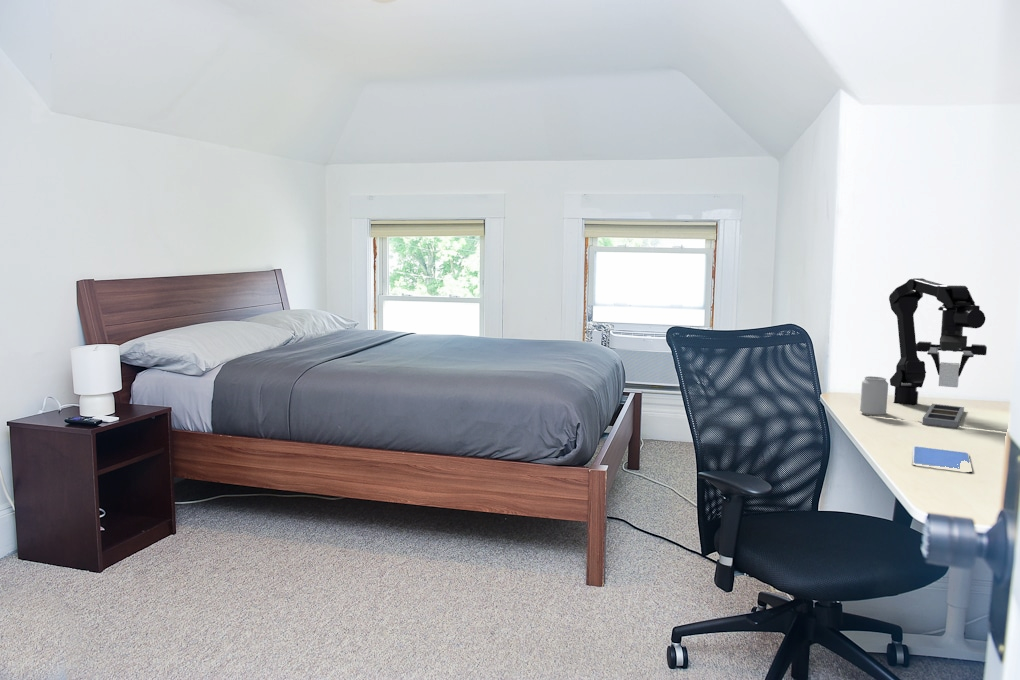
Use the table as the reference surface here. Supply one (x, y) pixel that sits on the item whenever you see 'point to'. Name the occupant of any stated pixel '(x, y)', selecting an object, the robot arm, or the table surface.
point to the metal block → (948, 374)
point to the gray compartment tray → (943, 416)
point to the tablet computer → (939, 457)
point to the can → (874, 396)
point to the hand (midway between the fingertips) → (948, 375)
